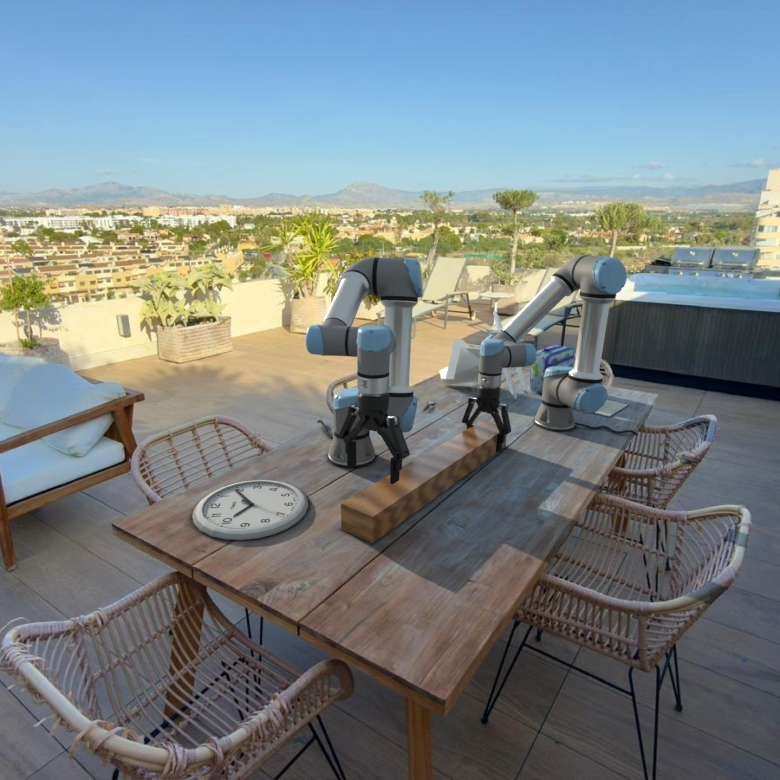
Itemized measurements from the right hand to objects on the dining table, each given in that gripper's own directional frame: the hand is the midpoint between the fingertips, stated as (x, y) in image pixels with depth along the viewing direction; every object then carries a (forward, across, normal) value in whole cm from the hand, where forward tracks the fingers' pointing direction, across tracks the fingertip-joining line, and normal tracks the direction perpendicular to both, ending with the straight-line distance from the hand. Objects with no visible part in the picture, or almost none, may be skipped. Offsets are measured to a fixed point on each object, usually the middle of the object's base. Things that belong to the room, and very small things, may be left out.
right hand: (484, 447), depth 181 cm
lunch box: (+1, -7, +82) cm, 82 cm away
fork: (+1, -39, +25) cm, 47 cm away
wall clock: (+1, -30, -76) cm, 82 cm away
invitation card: (+1, +19, +73) cm, 75 cm away
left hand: (-14, 0, -62) cm, 64 cm away
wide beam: (+1, 0, -31) cm, 31 cm away
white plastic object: (+1, -32, +57) cm, 65 cm away
